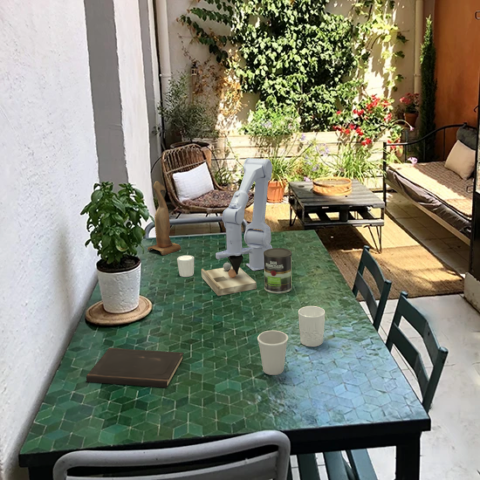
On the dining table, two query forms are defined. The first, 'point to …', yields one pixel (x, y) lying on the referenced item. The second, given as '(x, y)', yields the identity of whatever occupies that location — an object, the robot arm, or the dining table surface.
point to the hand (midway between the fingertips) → (235, 273)
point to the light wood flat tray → (228, 281)
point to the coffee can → (278, 270)
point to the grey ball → (227, 266)
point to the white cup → (311, 325)
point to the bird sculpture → (162, 225)
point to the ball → (232, 273)
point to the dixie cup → (273, 351)
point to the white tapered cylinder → (186, 265)
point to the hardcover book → (135, 367)
